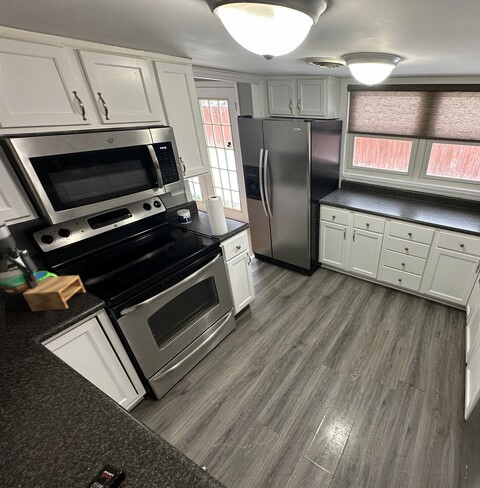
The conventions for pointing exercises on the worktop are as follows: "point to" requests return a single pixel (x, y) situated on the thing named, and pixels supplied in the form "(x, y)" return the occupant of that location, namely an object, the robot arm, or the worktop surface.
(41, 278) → the snack cup
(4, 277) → the food container
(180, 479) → the worktop surface
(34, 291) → the shelf
